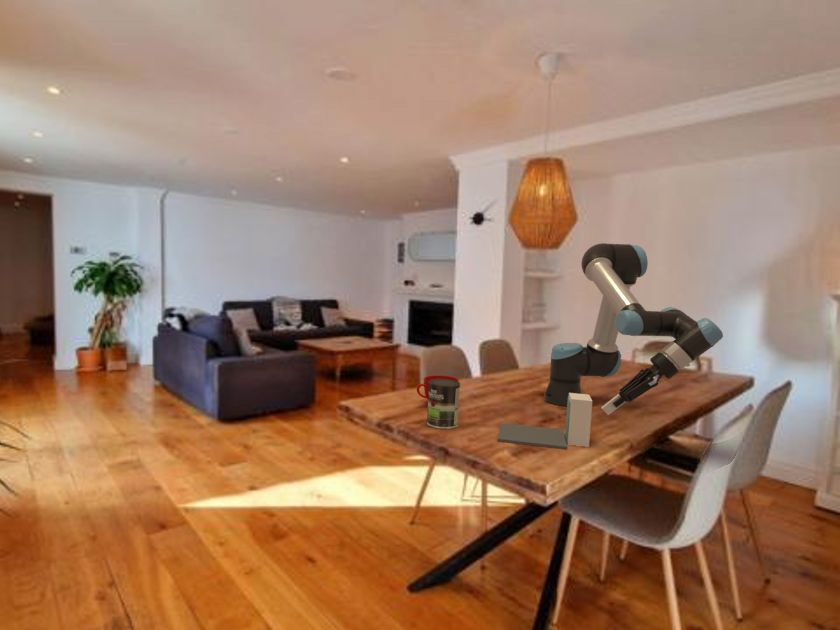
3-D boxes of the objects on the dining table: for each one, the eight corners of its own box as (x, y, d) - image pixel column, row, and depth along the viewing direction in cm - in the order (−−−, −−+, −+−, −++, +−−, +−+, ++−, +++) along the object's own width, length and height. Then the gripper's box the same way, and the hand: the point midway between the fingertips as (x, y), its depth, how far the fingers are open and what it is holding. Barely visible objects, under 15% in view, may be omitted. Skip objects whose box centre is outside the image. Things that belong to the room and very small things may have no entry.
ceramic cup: (407, 403, 182) (408, 377, 181) (444, 399, 191) (445, 374, 190) (425, 413, 171) (427, 385, 170) (464, 407, 180) (465, 381, 179)
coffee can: (443, 431, 152) (445, 387, 151) (420, 423, 159) (422, 381, 158) (464, 425, 159) (466, 383, 158) (441, 417, 167) (443, 377, 165)
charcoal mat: (497, 441, 145) (497, 438, 145) (500, 425, 161) (500, 422, 161) (567, 449, 141) (567, 446, 141) (563, 432, 157) (563, 429, 156)
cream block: (585, 438, 151) (589, 394, 150) (588, 447, 144) (592, 401, 142) (564, 436, 153) (567, 392, 151) (566, 444, 145) (570, 398, 144)
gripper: (686, 375, 134) (617, 427, 139) (672, 366, 147) (609, 414, 152) (667, 354, 135) (599, 407, 140) (655, 348, 147) (593, 396, 152)
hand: (604, 411), depth 146 cm, fingers closed
